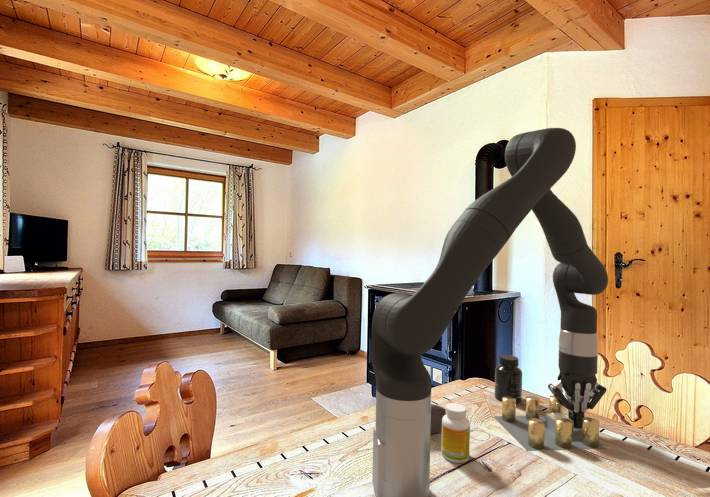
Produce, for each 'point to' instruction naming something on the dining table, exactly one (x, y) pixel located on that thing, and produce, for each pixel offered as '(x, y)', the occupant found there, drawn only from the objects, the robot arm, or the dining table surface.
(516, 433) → the mat
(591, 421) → the spacers
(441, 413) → the perforated stone tool
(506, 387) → the supplement bottle
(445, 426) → the supplement bottle
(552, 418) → the white faced textured brick
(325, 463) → the dining table surface
